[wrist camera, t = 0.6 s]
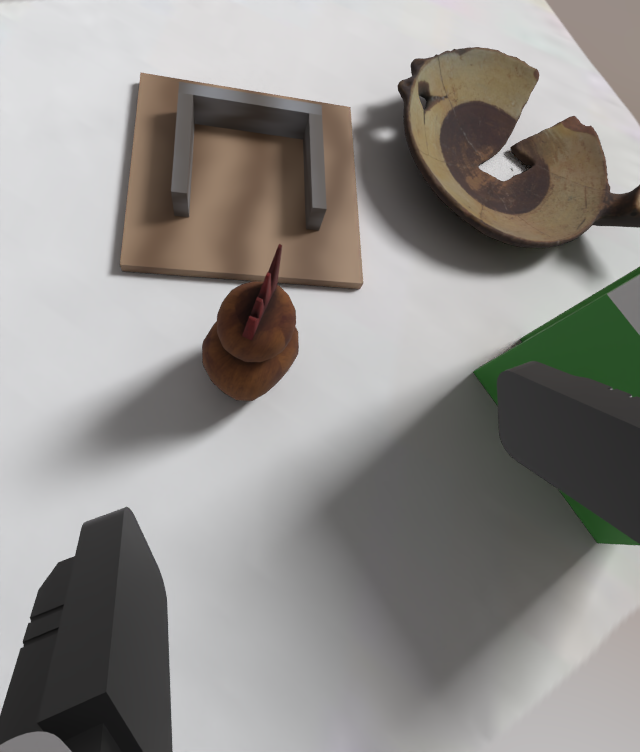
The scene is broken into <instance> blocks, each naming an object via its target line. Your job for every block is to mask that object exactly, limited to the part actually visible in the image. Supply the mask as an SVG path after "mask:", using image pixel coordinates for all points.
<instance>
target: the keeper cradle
mask: <svg viewBox="0 0 640 752" xmlns="http://www.w3.org/2000/svg"><path fill="white" fill-rule="evenodd" d="M279 244H281V245H282V252H281V260H280V268H279V276H278V283H287V284H300V285H314V286H327V287H341V288H354V289H360V288H361V286H362V285H363V273H362V260H361V246H360V232H359V219H358V205H357V191H356V178H355V164H354V151H353V137H352V123H351V110H350V107H346V106H340V105H334V104H328V103H322V102H316V101H310V100H304V99H298V98H292V97H285V96H279V95H273V94H267V93H261V92H255V91H249V90H243V89H237V88H231V87H225V86H219V85H213V84H206V83H200V82H194V81H188V80H182V79H176V78H170V77H164V76H158V75H152V74H146V73H141V74H140V83H139V92H138V102H137V111H136V120H135V130H134V139H133V148H132V157H131V167H130V176H129V185H128V194H127V204H126V213H125V222H124V231H123V241H122V250H121V259H120V266H121V269H122V271H127V272H140V273H153V274H167V275H180V276H193V277H207V278H220V279H234V280H247V281H261V282H264V279H265V276H266V274H267V272H268V271H269V268H270V266H271V263H272V260H273V258H274V255H275V253H276V250H277V247H278V245H279Z"/></svg>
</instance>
